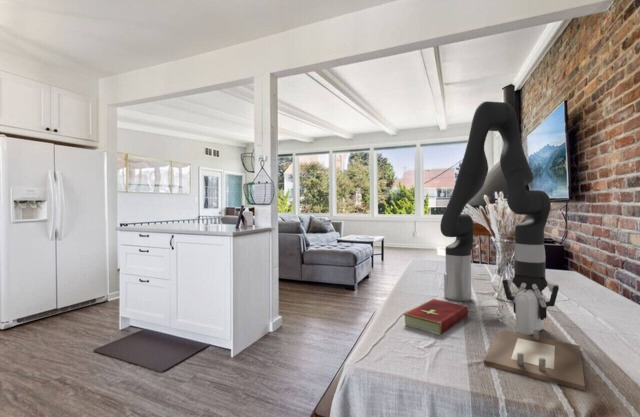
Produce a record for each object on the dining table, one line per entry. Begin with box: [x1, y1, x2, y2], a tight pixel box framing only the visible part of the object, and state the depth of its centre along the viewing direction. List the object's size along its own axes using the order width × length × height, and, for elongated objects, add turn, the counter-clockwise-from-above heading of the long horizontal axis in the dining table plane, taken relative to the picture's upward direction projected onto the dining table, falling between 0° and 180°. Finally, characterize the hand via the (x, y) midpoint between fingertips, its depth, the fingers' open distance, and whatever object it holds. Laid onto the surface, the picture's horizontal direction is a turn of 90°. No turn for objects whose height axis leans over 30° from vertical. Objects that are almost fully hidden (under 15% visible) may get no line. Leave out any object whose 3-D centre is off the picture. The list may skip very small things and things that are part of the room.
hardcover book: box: [402, 298, 470, 336], centre depth 102 cm, size 12×21×4 cm, turn 135°
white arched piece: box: [474, 299, 506, 323], centre depth 104 cm, size 12×8×5 cm
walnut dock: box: [483, 329, 586, 391], centre depth 77 cm, size 18×22×4 cm
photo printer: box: [515, 289, 545, 336], centre depth 92 cm, size 10×4×12 cm, turn 123°
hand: (529, 316), depth 92 cm, fingers closed on photo printer, 5 cm apart
